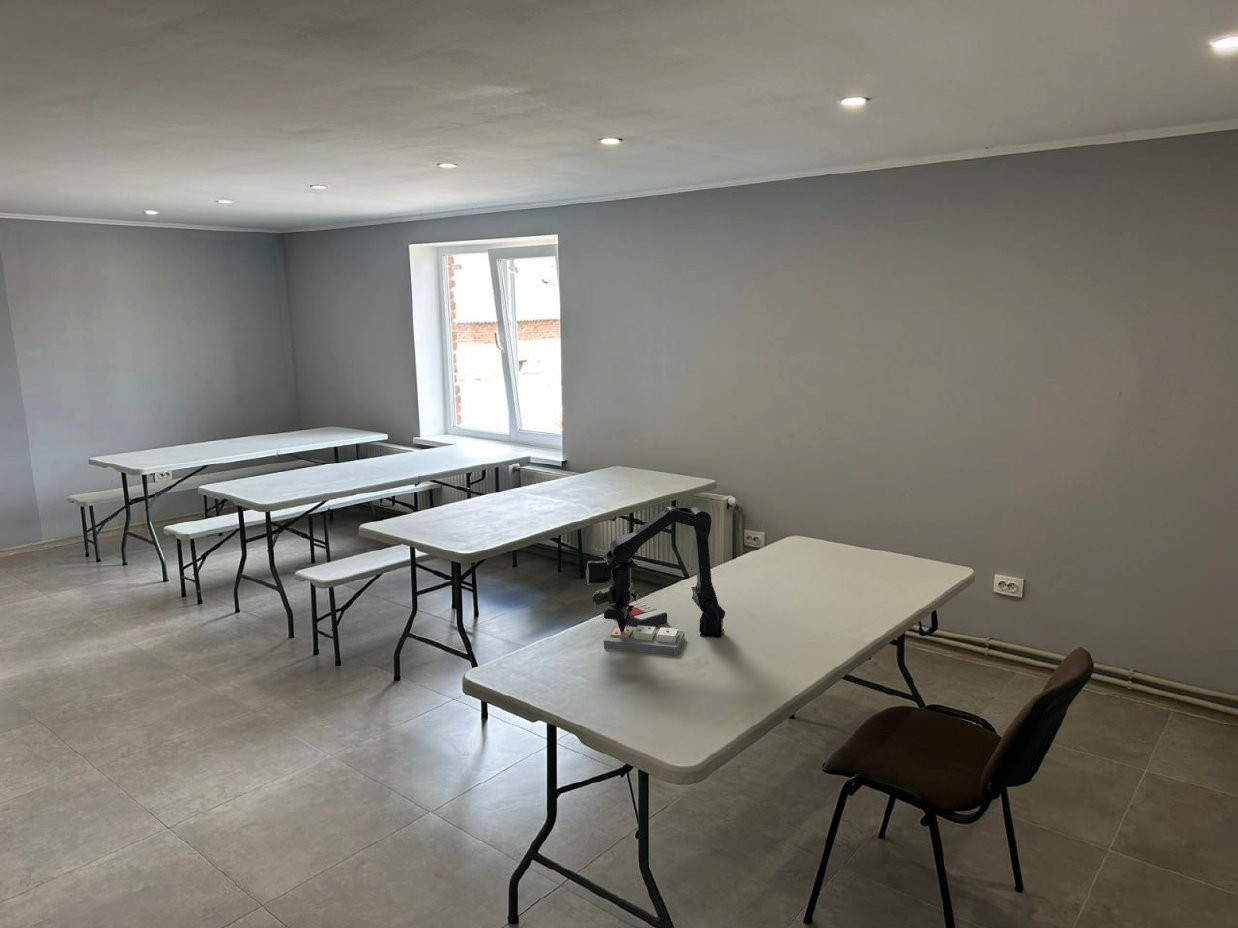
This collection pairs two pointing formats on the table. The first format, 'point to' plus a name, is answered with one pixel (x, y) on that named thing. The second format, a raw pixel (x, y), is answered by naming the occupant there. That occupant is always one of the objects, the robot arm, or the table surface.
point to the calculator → (646, 616)
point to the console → (644, 643)
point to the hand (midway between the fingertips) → (622, 631)
